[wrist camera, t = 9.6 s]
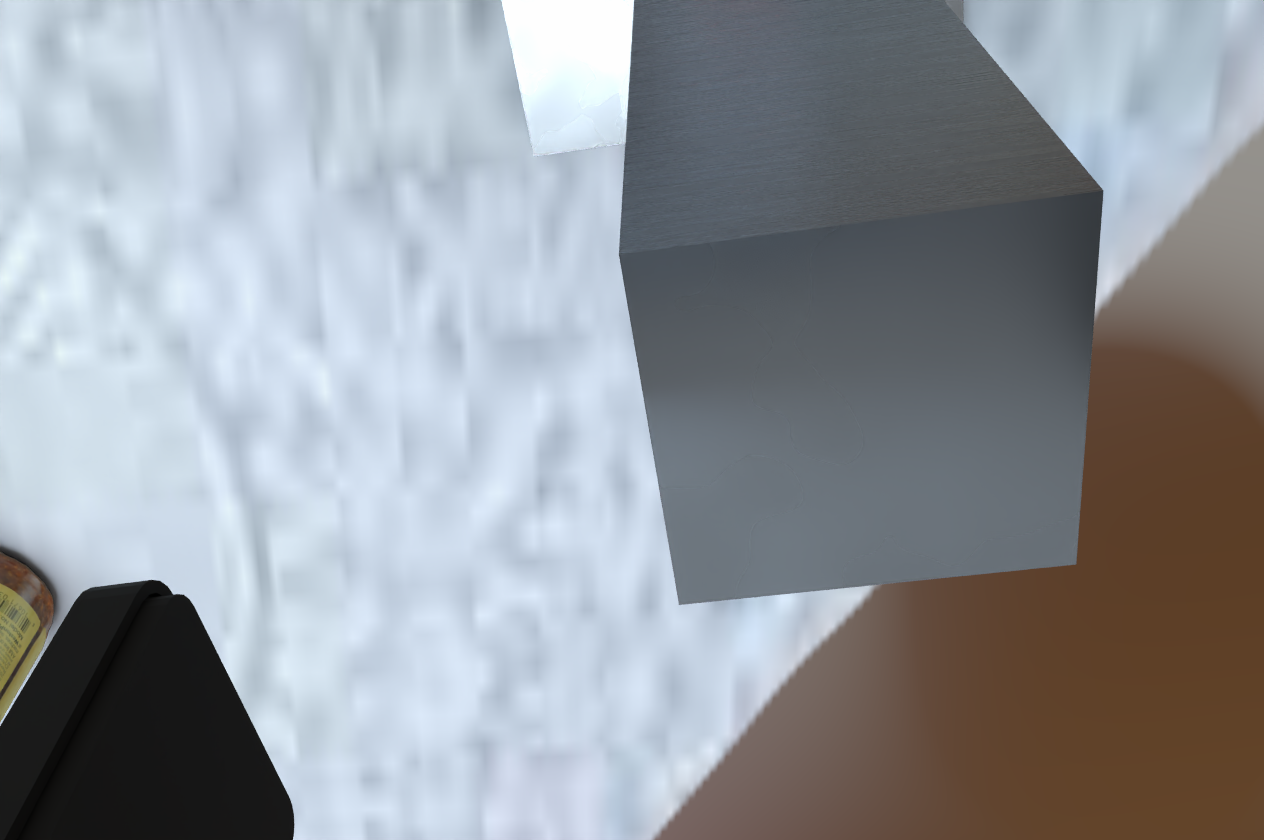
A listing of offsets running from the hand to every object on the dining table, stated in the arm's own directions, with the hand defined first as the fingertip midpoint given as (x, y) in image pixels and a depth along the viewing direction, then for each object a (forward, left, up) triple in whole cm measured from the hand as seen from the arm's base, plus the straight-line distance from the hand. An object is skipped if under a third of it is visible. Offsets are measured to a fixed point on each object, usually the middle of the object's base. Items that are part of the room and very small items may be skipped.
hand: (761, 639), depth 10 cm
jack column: (-1, +1, -24) cm, 24 cm away
